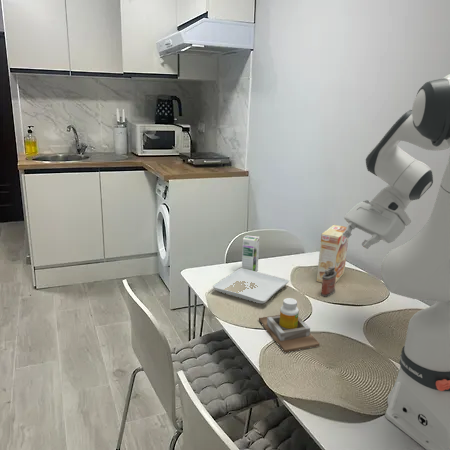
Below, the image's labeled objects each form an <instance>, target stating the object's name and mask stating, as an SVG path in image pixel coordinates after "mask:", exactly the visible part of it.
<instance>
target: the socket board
mask: <svg viewBox="0 0 450 450" xmlns="http://www.w3.org/2000/svg"><path fill="white" fill-rule="evenodd" d="M259 321H260V322H261V323H262V324H263V326H264V327H265V328H264V327H263V326H262V327H263V328H264V329H265V331H266V330H267V331H266V332H267V333H268V335H269V336H270V337H271V338H272V339H273V340H274V342H275V341H276V342H277V343H278V344H279V345H280V347H281V348H282V349H283V350H282V349H281V348H280V347H279V348H280V349H281V350H282V352H283V351H284V352H288V353H290V352H289V351H293V352H296V351H295V350H298V351H300V350H299V349H303V350H307V349H306V348H309V349H311V348H310V347H314V348H317V347H316V346H319V347H320V342H319V341H318V340H317V339H316V338H315V337H314V336H313V335H312V334H311V328H310V326H308V325H307V324H306V322H304V320H302V318H300V317H299V316H298V326H297V328H295V329H289V330H282V329H281V328H280V327H279V321H280V314H276V315H269V316H263V317H259V318H258V322H259ZM260 322H259V323H260ZM261 323H260V324H261ZM262 324H261V325H262ZM276 342H275V343H276ZM277 343H276V344H277ZM278 344H277V345H278ZM279 345H278V346H279ZM284 352H283V353H284Z"/></svg>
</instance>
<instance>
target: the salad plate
mask: <svg viewBox="0 0 450 450" xmlns="http://www.w3.org/2000/svg"><path fill="white" fill-rule="evenodd" d="M236 281H239V282H240V281H241V282H242V281H245V282H246V283H244V284H245V285H246V286H245V287H247V288H249V289H247V288H246V289H245V290H243V292H242V291H241V292H239V291H238V292H239V293H236V292H232V291H228V290H224V289H225V288H227V287H229V286H230V285H233V283H235V282H236ZM247 282H248V283H247ZM251 282H252V283H255V285H257V286H258V287H257V286H255V285H254V286H255V287H256V288H254V287H253V289H251V288H250V287H249V286H250V283H251ZM288 283H289V280H288V279H285V278H282V277H279V276H275V275H271V274H267V273H263V272H260V271H257V272H256V271H251V270H247V269H243V268H242V267H241V268H238V269H236V270H235V271H233V272H232V273H230V274H229V275H227V276H226V277H224V278H222V279H221V280H219V281H218V282H216V283H215V284H214V285H212V288H213V289H214V290H215V291H217V292H219V293H221V292H222V293H221V294H225V293H226V295H228V294H229V295H228V296H231V295H233V296H232V297H234V296H236V297H235V298H238V297H239V298H238V299H241V298H243V299H242V300H244V299H246V300H245V301H248V300H249V301H248V302H251V301H253V302H252V303H255V302H256V304H265V303H266V302H267V301H269V299H270V298H271V297H273V296H274V295H275V294H276V293H277V292H279V291H280V290H281V289H283V288H284V287H285V286H286V285H287V284H288ZM234 285H235V284H234ZM234 285H233V287H234ZM241 285H242V284H241ZM247 285H248V286H247ZM251 287H252V286H251Z"/></svg>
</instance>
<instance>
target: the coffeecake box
mask: <svg viewBox="0 0 450 450" xmlns="http://www.w3.org/2000/svg"><path fill="white" fill-rule="evenodd" d="M346 227H347V226H343V225H337V224H332V225H331V226H330V227H329V228H327V229H326V230H324V231H323V232H322V233H321V235H320V236H321V237H320V243H319V244H320V245H319V256H318V265H317V275H316V282H319V283H322V281H323V279H322V276H323V275H324V274H325V270H327V269H328V267H332V266H334V267H335V270H334V271H336V272H337V275H336V280H335V284H336V283H337V282H339V280H340V279H341V277H342V276H343V275H344V274H345V271H346V270H345V269H346V262H347V261H346V260H347V255H348V254H347V252H348V245H349V240H350V239H349V238H350V237H349V238H346V237H344V236H343V232H344V231H345V230H346Z"/></svg>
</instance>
